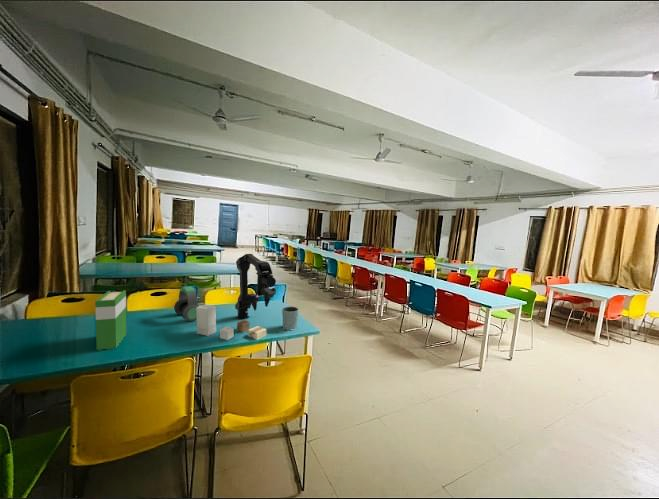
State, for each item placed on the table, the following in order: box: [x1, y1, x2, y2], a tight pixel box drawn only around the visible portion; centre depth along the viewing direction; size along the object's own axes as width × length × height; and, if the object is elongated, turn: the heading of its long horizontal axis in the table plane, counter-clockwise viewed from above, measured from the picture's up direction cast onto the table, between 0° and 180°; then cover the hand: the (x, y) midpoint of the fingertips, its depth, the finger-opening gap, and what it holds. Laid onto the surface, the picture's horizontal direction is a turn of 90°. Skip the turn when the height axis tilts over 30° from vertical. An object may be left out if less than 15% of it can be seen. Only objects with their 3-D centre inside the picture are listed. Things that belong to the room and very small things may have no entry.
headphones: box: [173, 286, 200, 322], centre depth 172 cm, size 19×11×20 cm, turn 48°
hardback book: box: [94, 289, 127, 351], centre depth 135 cm, size 18×7×24 cm, turn 24°
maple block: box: [247, 325, 267, 340], centre depth 153 cm, size 7×7×4 cm
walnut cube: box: [236, 319, 251, 333], centre depth 159 cm, size 5×5×5 cm
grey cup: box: [281, 306, 299, 331], centre depth 167 cm, size 10×10×12 cm
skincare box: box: [196, 304, 217, 337], centre depth 152 cm, size 8×7×16 cm
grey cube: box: [219, 326, 235, 341], centre depth 149 cm, size 5×5×5 cm
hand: (260, 308), depth 161 cm, fingers open, 9 cm apart
